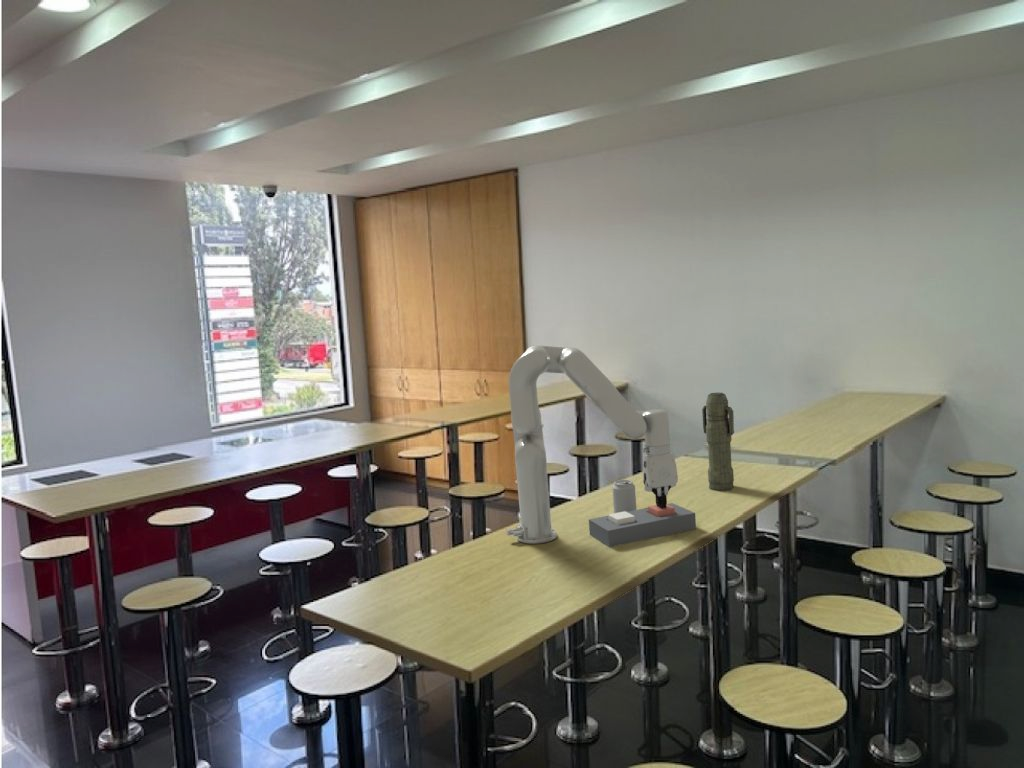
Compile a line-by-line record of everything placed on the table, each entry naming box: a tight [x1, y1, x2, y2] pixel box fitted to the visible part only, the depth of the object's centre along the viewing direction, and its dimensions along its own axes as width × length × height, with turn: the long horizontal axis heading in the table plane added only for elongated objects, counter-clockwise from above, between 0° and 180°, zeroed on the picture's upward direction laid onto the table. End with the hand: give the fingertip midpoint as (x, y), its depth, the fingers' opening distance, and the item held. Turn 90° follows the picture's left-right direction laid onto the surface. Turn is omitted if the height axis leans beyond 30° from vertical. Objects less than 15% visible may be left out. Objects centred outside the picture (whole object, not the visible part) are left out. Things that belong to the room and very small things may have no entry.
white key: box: [607, 511, 635, 525], centre depth 220 cm, size 6×6×4 cm
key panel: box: [588, 502, 697, 548], centre depth 223 cm, size 30×13×5 cm, turn 109°
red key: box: [647, 503, 675, 517], centre depth 225 cm, size 6×6×4 cm
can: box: [611, 479, 638, 514], centre depth 239 cm, size 8×8×12 cm
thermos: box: [701, 392, 735, 492], centre depth 262 cm, size 9×12×35 cm
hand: (661, 507), depth 224 cm, fingers closed
